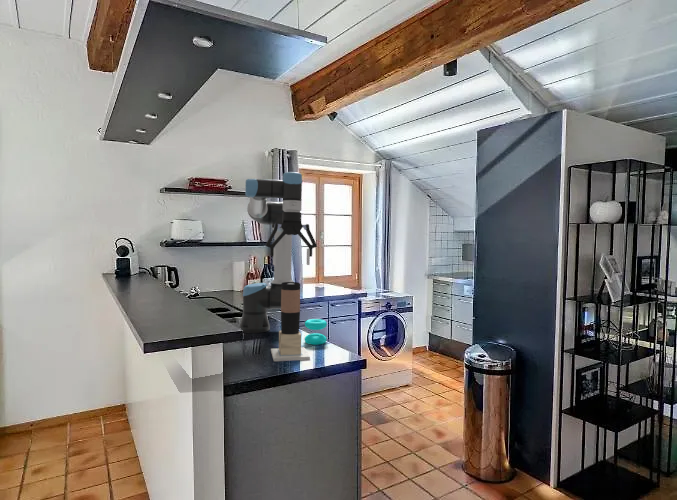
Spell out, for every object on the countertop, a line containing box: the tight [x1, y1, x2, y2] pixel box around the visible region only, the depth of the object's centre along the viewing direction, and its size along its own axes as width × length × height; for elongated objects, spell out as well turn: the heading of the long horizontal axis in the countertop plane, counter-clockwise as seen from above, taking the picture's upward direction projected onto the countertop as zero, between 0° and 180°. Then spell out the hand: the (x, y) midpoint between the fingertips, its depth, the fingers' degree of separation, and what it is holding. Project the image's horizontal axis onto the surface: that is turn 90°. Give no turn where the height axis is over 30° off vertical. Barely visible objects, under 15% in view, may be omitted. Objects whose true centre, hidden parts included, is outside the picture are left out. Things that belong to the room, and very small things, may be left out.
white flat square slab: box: [270, 346, 311, 362], centre depth 178 cm, size 14×14×1 cm
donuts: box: [304, 318, 328, 346], centre depth 200 cm, size 10×10×10 cm
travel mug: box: [280, 281, 301, 334], centre depth 178 cm, size 8×8×20 cm
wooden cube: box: [278, 330, 302, 355], centre depth 178 cm, size 8×8×8 cm
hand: (291, 264), depth 177 cm, fingers open, 13 cm apart
